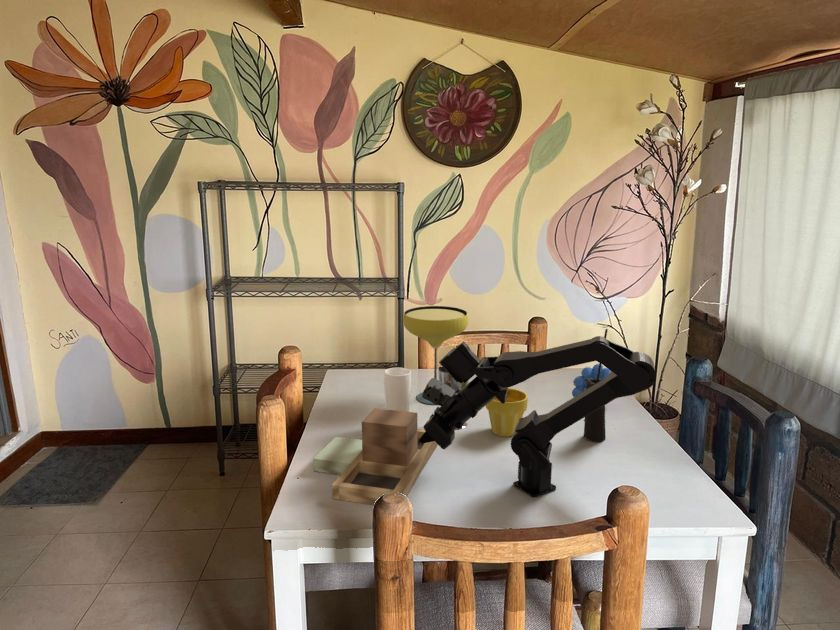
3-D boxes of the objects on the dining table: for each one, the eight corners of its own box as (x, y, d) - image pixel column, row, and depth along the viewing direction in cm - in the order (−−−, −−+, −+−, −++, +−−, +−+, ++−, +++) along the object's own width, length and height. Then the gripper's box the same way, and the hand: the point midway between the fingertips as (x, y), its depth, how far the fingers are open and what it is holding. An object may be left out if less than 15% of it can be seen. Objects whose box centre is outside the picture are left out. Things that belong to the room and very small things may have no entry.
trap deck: (439, 442, 155) (439, 431, 154) (398, 508, 125) (398, 494, 125) (351, 432, 161) (351, 421, 160) (293, 492, 132) (292, 479, 131)
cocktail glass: (468, 388, 192) (469, 306, 186) (465, 411, 175) (467, 321, 169) (407, 386, 194) (407, 305, 188) (399, 408, 176) (398, 319, 171)
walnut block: (417, 450, 144) (417, 412, 142) (406, 466, 136) (406, 426, 134) (375, 445, 146) (374, 408, 144) (362, 460, 139) (361, 421, 137)
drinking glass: (379, 430, 162) (378, 373, 159) (393, 420, 168) (392, 365, 165) (403, 435, 159) (402, 377, 156) (416, 425, 165) (416, 369, 162)
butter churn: (562, 434, 159) (567, 324, 153) (589, 426, 164) (596, 319, 158) (590, 448, 152) (597, 333, 145) (617, 438, 157) (626, 327, 150)
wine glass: (450, 415, 171) (450, 361, 168) (475, 423, 166) (476, 367, 163) (431, 425, 165) (431, 369, 162) (456, 433, 160) (457, 375, 157)
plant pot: (525, 441, 155) (526, 403, 153) (482, 438, 157) (483, 400, 155) (527, 425, 165) (528, 388, 163) (486, 421, 167) (487, 386, 165)
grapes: (605, 398, 183) (608, 358, 181) (615, 407, 177) (618, 365, 174) (565, 400, 182) (568, 359, 179) (574, 409, 176) (576, 367, 173)
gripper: (456, 356, 142) (408, 398, 147) (434, 383, 124) (380, 430, 130) (490, 394, 142) (441, 434, 147) (473, 426, 124) (418, 471, 130)
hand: (420, 441), depth 138 cm, fingers closed
